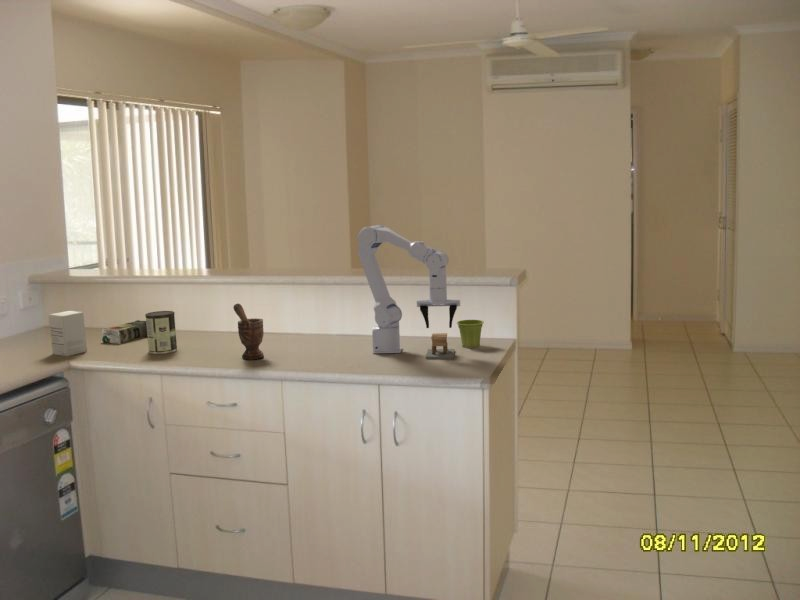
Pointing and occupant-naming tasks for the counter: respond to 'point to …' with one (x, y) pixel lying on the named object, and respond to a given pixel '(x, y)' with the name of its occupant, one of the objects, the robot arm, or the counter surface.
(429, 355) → the slate mat
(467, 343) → the plant pot
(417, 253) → the robot arm
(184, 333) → the counter surface
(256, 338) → the mortar and pestle
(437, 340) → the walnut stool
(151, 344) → the coffee can
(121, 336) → the juice carton
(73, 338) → the supplement box
